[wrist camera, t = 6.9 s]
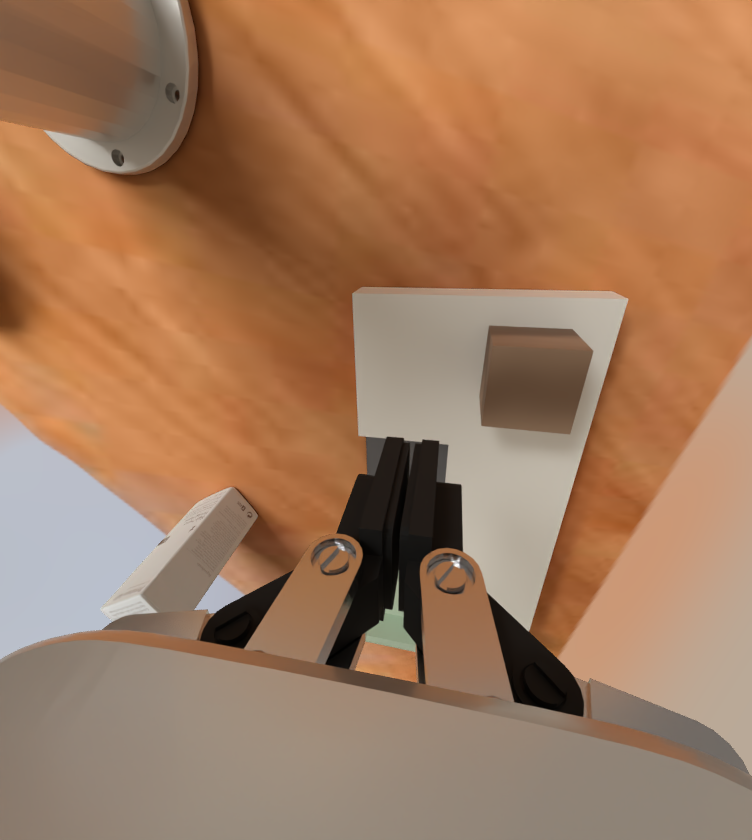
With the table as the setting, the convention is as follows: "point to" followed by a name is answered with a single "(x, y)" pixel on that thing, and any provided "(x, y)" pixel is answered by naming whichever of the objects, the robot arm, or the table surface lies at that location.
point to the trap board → (477, 420)
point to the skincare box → (186, 558)
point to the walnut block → (533, 378)
